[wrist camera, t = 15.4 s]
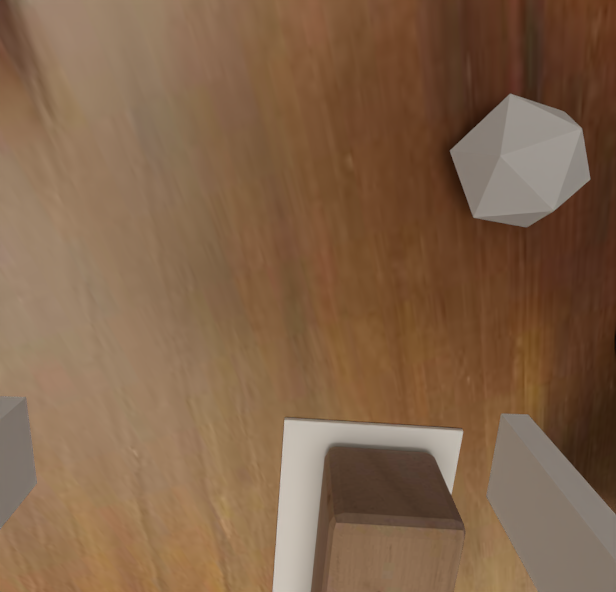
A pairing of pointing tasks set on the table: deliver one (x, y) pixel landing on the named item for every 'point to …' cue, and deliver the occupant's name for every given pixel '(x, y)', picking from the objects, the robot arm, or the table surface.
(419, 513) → the wooden block
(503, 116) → the die
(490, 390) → the table surface
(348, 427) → the white mat
